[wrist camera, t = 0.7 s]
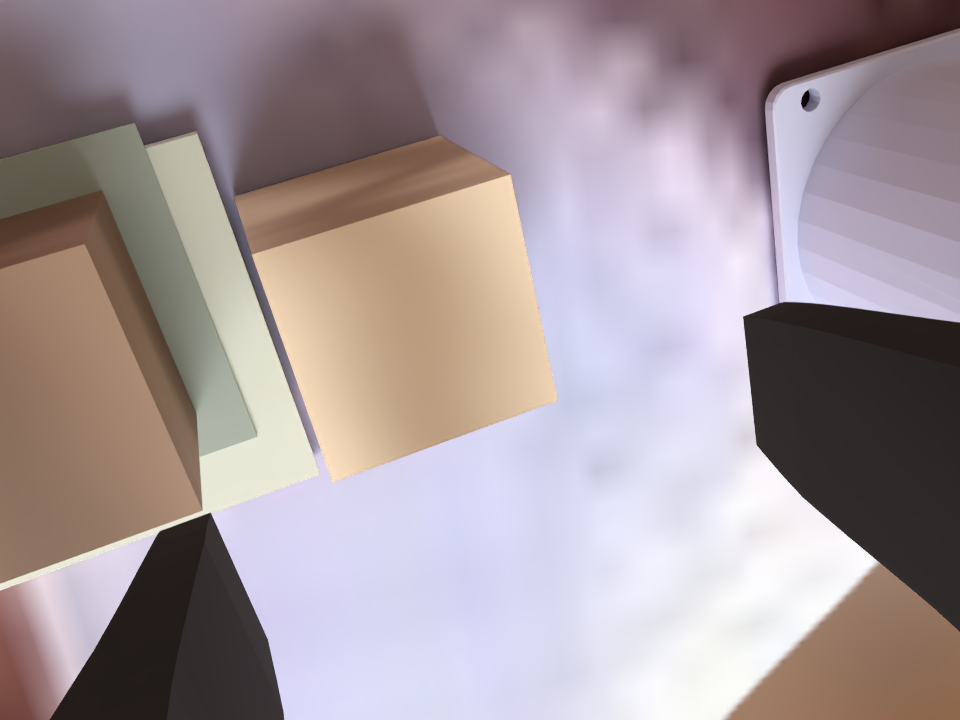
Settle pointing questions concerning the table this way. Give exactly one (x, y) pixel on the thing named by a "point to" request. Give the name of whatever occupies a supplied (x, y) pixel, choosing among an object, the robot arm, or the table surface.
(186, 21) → the table surface
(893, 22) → the table surface
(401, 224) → the maple cube
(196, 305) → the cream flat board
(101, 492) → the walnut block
